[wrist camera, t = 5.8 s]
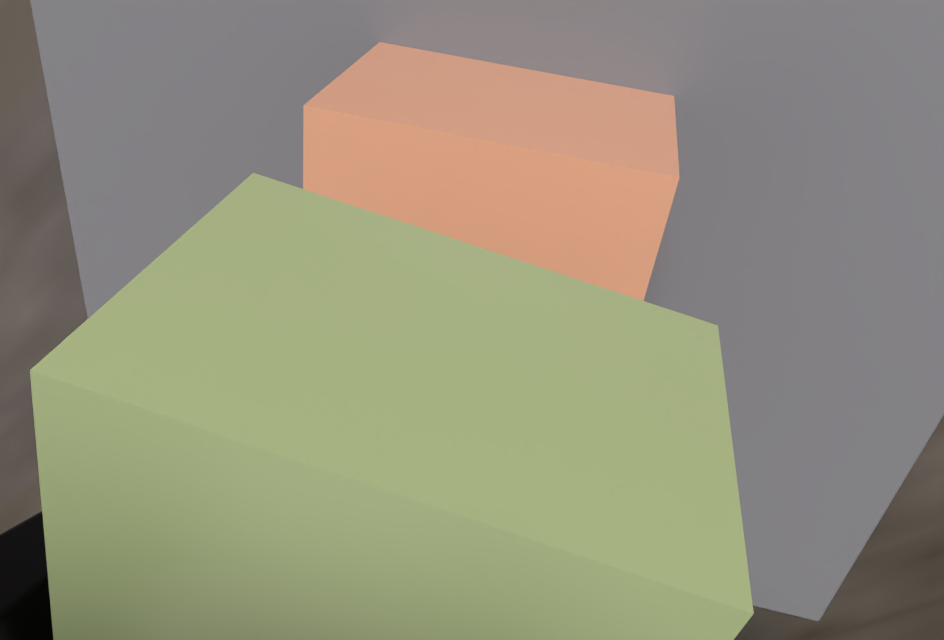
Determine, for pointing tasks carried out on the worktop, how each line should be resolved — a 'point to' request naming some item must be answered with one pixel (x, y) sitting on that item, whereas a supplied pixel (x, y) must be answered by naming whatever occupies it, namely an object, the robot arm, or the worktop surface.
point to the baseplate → (689, 221)
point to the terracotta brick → (501, 159)
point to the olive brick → (382, 445)
